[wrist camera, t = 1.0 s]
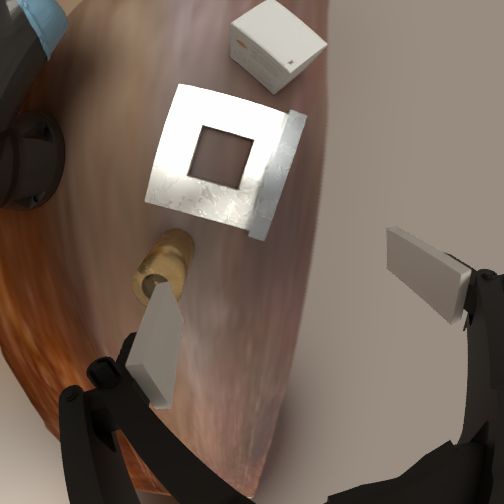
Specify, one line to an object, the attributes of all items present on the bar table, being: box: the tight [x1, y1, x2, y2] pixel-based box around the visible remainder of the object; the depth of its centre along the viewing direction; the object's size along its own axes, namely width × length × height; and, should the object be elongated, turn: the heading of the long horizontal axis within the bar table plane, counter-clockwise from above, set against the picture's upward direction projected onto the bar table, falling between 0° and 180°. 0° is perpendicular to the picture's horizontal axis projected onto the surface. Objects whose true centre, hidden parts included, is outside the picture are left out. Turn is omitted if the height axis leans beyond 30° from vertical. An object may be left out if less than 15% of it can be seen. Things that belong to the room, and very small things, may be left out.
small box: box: [230, 0, 328, 95], centre depth 24 cm, size 8×6×10 cm
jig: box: [145, 84, 307, 241], centre depth 30 cm, size 15×15×6 cm
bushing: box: [132, 229, 194, 307], centre depth 31 cm, size 5×5×12 cm
